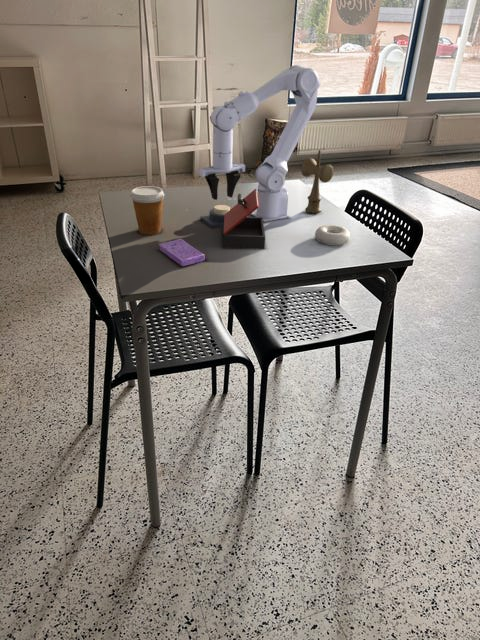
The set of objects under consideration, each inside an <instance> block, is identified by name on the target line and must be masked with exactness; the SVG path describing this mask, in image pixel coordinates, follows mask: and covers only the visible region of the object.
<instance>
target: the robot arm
mask: <svg viewBox="0 0 480 640" xmlns="http://www.w3.org/2000/svg"><path fill="white" fill-rule="evenodd" d="M320 86H321V81H320V79H319V74H318V72H317V71H316V70H315V69H314V68H311V67H304V66H301V65H298V64H294V65H292V66H290V67H289V68H287V69H283V70H282V71H281V72H280V73H279V74H277V75H276V76H274V77H272V79H270V80H268V81H267V82H266V83H264V84H263V85H261V86H259V87H258V88H257V89H256V90H254V91H253V92H251V91H247V90H246V91H243V90H241V91H239V92H238V96H236V97H234V98H233V99H231V100H229V101H228V100H226V101H224V103H223V105H218V106H215V107H214V108H213V109H212V112H211V113H210V114H211V115H210V116H209V121H210V123H211V124H212V165H209V166H207V167H202V168H199V169H198V176H199V177H201V178H204V179H205V180H206V183H207V185H208V187H209V191H210V195H211V198H212V199H213V200H214V201H217V200H218V197H219V195H218V189H219V182H220V178H219V177H217V175H224V174H225V177H226V196H227V197H229V198H233V196H234V192H235V189H236V186H237V183H238V182H239V180H240V179H241V173H245V172H246V165H245V164H243V163H233V153H234V152H233V150H234V149H233V145H234V144H233V143H234V134H233V132H234V131H233V130H234V128H235V127H236V125H237V123H238V122H240V121H242V120H243V119H245V118H246V117H248V116H249V115H252V114H253V113H255V112H256V111H257V110H258V107H259V104H260V103H262V102H265V101H267V100H268V99H270V98H272V97H274V96H275V95H277V94H279V93H280V92H282V91H290V92H291V93H292V95H293V99H294V102H295V107H294V109H293V110H292V112H291V115H290V116H289V119H288V120H287V122H286V125H285V126H284V128H283V130H282V131H281V134H280V137H279V138H278V140H277V142H276V144H275V146H274V148H273V150H272V152H271V154H270V155H268V156H267V157H265V159H264V161H263V162H262V163H261V164H260V165H259V166H258V167H257V168H256V169H255V174H254V175H255V176H254V177H255V180H256V181H257V183H258V185H257V197H258V205H259V208H257V209H256V211H254V212H253V213H251V214H250V216H252V217H263V223H265V222H266V223H267V222H271V221H276V220H282V219H287V218H289V215H288V206H289V192H288V191H287V189H286V188H285V187H284V186H285V182H286V176H287V174H288V162H289V160H290V158H291V156H292V154H293V152H294V150H295V148H296V147H297V144H298V143H299V140H300V138H301V137H302V135H303V133H304V131H305V129H306V127H307V125H308V123H309V121H310V119H311V118H312V115H313V113H314V111H315V110H316V107H317V103H318V102H317V100H318V92H319V91H318V90H319V88H320ZM239 172H241V173H239Z"/></svg>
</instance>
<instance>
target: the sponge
mask: <svg viewBox="0 0 480 640" xmlns="http://www.w3.org/2000/svg"><path fill="white" fill-rule="evenodd" d="M158 246H159V251H160V252H162V253H163V254H165V255H166V256H167V257H169V258H170V259H171V260H173V261H174V262H176V263H177V264H178V265H180V266H182V267H185V266H186V267H187V266H189V265H193V264H197V263H201V262H203V261H205V260H206V256H205V254H204V253H203V252H201V251H200V250H198V249H196V248H195V247H193V246H192V245H190V243H188V242H187V241H185V240H184V239H182V238H178V239H173V240H170V241H167V242H161V243H158Z"/></svg>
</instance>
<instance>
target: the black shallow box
mask: <svg viewBox="0 0 480 640" xmlns="http://www.w3.org/2000/svg"><path fill="white" fill-rule="evenodd" d="M265 244H266V232H265V224H264V222H263V217H255V216H248V217H246V218H245V219H244V220H243V221H242V222H240V223H239V224H238V225H237V226H235V227H234V228H233V229H232V230H231V231H229V232H228V233H227V234H226V235H224V234H223V248H224V249H248V250H249V249H250V250H251V249H253V250H265V246H266V245H265Z"/></svg>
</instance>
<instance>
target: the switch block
mask: <svg viewBox="0 0 480 640" xmlns="http://www.w3.org/2000/svg"><path fill="white" fill-rule="evenodd" d="M231 209H232V208H230V210H231ZM224 216H225V215H219V214H215V213H214V208H212V209H209V214H207V215H201V216H200V220H201V221H202V222H203V223H205V224H206V225H207V226H209V227H210V228H219V227H224Z"/></svg>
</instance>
